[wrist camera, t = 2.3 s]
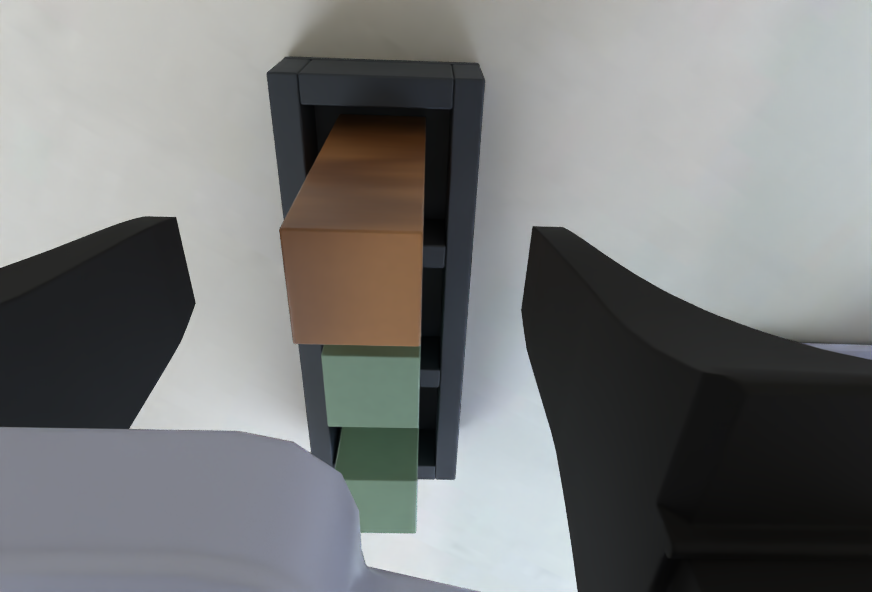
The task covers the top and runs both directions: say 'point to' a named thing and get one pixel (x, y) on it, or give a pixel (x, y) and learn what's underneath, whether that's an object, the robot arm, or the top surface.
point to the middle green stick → (371, 385)
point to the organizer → (443, 214)
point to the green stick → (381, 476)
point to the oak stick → (359, 236)
